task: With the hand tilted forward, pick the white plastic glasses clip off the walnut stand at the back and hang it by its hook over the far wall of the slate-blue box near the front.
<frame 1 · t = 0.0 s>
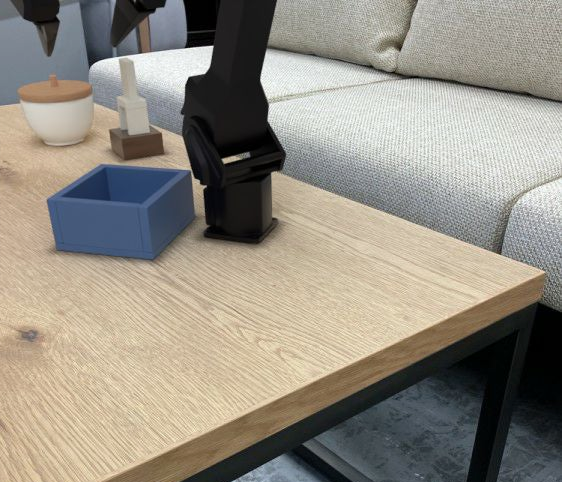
hand: (81, 49, 88), 15 cm above the table, tool tilted 35°, fingers open, 9 cm apart
stand: (137, 151, 103), on the table
box: (129, 233, 77), on the table
clip: (135, 130, 101), point 3 cm above the table, touching stand
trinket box: (64, 141, 108), on the table
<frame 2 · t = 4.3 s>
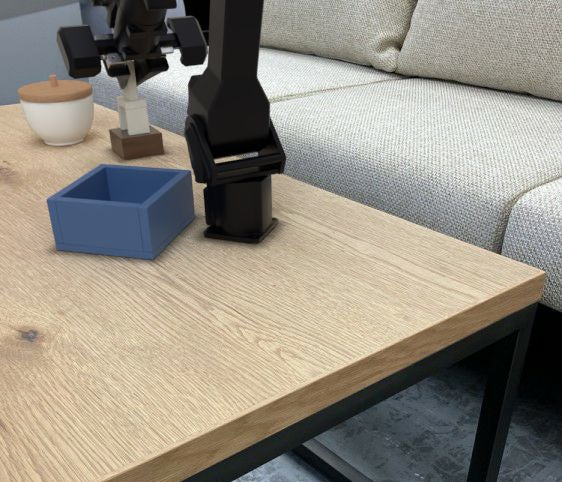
hand: (126, 85, 99), 9 cm above the table, tool tilted 45°, fingers closed on clip
clip: (135, 130, 101), point 3 cm above the table, touching gripper
everything else where it was.
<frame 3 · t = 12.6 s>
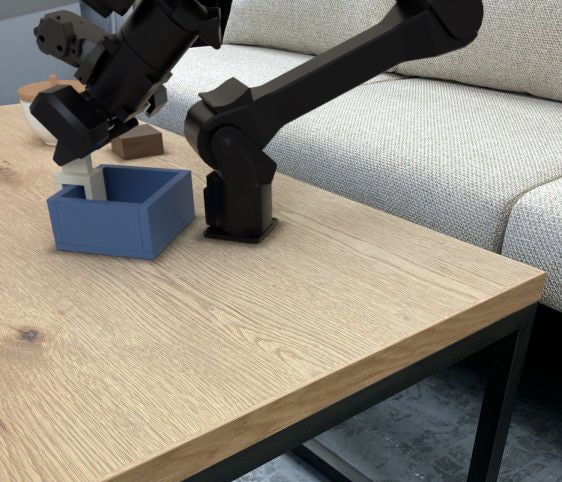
hand: (63, 158, 74), 8 cm above the table, tool tilted 45°, fingers open, 3 cm apart
clip: (84, 211, 77), point 2 cm above the table, touching box
everything else where it was.
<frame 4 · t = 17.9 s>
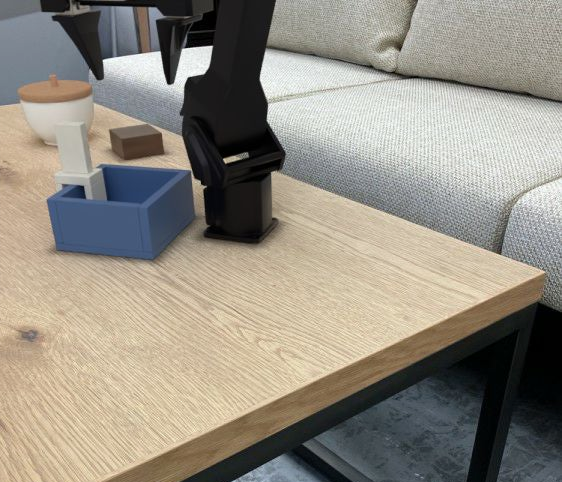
hand: (135, 82, 81), 13 cm above the table, tool pointing down, fingers open, 9 cm apart
nothing on the table moved.
at the end: clip 0.1 cm from the target spot in the box, point 2.0 cm above the box's base; clip touching box; the gripper is holding nothing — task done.
